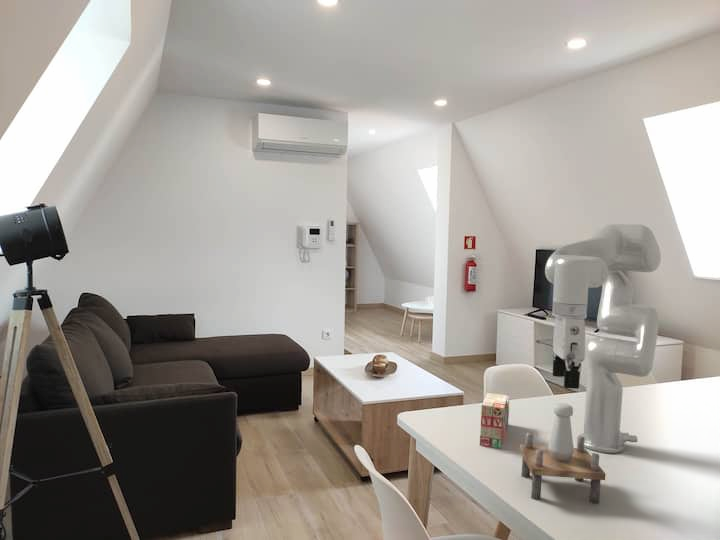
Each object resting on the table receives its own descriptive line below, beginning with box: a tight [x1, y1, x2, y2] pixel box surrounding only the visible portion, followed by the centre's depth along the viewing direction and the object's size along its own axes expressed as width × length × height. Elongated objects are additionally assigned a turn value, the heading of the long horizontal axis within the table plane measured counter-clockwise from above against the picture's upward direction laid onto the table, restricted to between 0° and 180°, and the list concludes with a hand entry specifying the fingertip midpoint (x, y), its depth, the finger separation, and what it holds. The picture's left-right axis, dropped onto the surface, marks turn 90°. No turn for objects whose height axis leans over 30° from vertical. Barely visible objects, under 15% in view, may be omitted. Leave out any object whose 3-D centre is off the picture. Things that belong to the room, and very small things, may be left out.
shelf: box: [519, 432, 607, 505], centre depth 127 cm, size 16×14×11 cm
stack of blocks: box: [479, 392, 510, 450], centre depth 161 cm, size 21×6×12 cm, turn 160°
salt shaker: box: [547, 402, 575, 462], centre depth 127 cm, size 6×6×13 cm
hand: (565, 381), depth 126 cm, fingers open, 9 cm apart
